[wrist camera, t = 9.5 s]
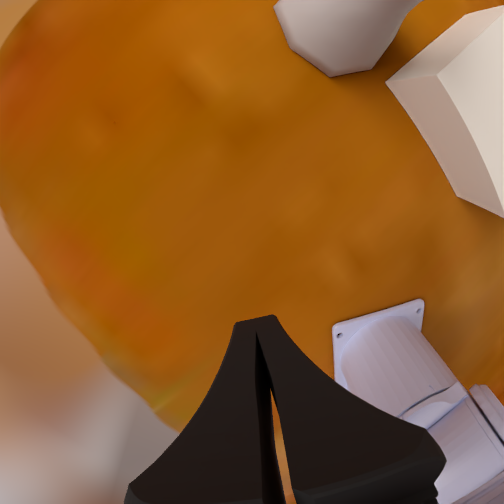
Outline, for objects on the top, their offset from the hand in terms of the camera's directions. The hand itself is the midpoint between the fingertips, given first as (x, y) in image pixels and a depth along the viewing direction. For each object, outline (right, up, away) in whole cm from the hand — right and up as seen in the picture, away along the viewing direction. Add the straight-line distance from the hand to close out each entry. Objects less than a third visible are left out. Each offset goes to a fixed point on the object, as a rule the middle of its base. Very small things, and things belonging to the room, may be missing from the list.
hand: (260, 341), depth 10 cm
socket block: (+15, +14, +6) cm, 22 cm away
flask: (+5, +17, +4) cm, 18 cm away
